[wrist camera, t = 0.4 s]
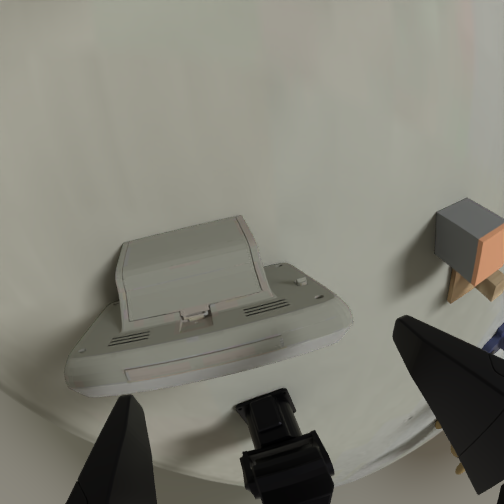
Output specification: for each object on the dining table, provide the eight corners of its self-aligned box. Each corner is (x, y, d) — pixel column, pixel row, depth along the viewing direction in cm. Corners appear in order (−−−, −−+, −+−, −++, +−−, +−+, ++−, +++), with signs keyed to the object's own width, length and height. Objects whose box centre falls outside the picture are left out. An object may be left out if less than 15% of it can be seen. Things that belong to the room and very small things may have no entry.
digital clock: (103, 320, 23) (87, 429, 14) (81, 221, 19) (27, 322, 10) (287, 307, 27) (336, 402, 18) (302, 212, 23) (381, 295, 14)
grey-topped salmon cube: (463, 237, 29) (502, 265, 24) (434, 253, 29) (474, 286, 23) (467, 197, 26) (511, 223, 21) (436, 212, 26) (483, 242, 21)
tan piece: (482, 276, 34) (508, 298, 30) (446, 300, 34) (473, 326, 29) (491, 229, 30) (522, 250, 25) (454, 252, 30) (487, 278, 25)
